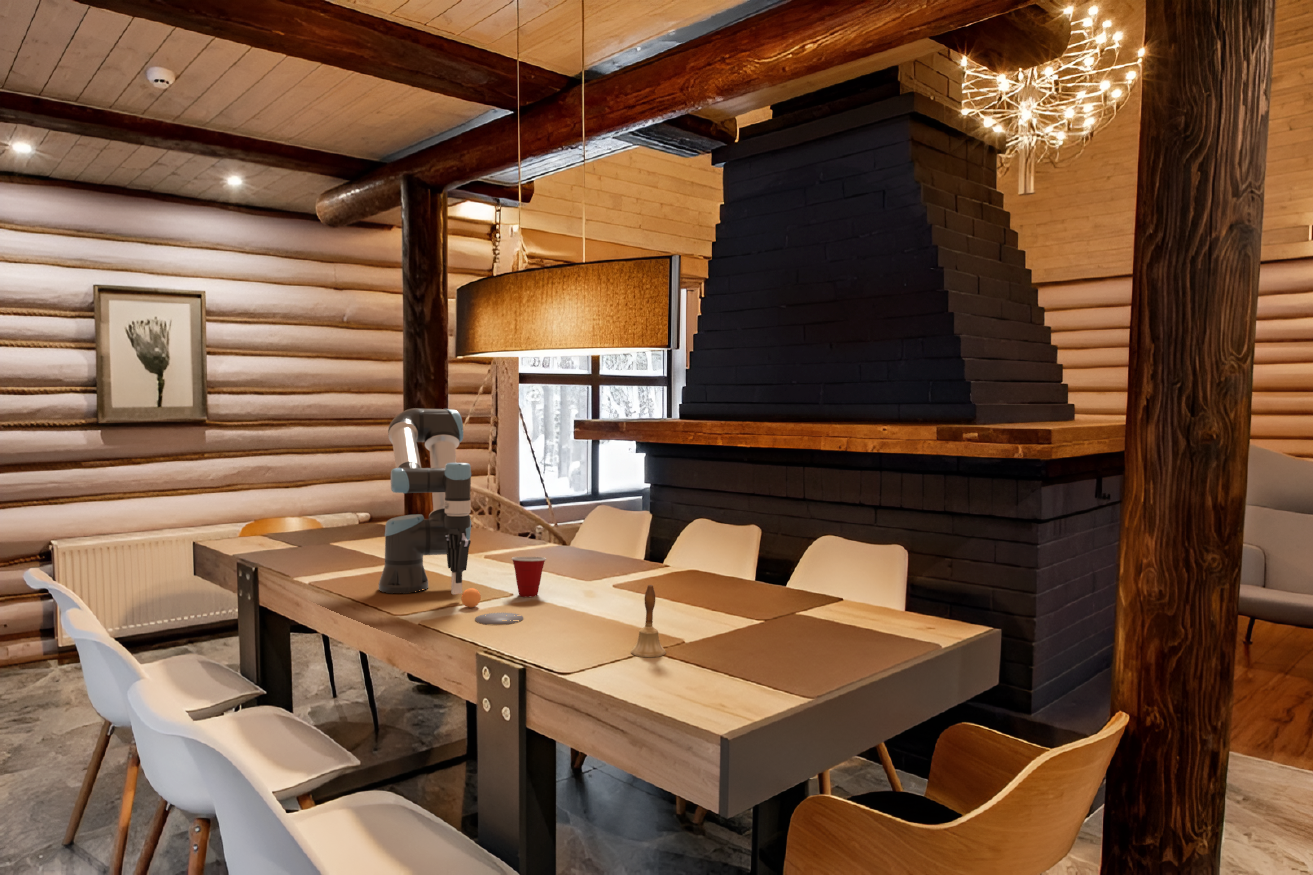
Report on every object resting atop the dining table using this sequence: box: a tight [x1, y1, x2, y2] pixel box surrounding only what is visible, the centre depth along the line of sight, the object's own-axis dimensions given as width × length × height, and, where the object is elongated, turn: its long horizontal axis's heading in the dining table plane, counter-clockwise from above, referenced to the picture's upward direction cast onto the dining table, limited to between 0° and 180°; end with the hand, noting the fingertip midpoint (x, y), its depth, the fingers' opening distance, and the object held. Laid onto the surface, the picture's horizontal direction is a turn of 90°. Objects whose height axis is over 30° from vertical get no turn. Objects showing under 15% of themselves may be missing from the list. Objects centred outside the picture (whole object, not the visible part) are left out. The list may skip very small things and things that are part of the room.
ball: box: [460, 587, 482, 609], centre depth 234 cm, size 6×6×6 cm
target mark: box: [474, 612, 524, 625], centre depth 221 cm, size 13×13×1 cm
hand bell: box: [630, 584, 667, 658], centre depth 191 cm, size 8×8×16 cm
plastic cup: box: [511, 556, 547, 598], centre depth 252 cm, size 11×11×12 cm
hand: (456, 593), depth 241 cm, fingers closed
